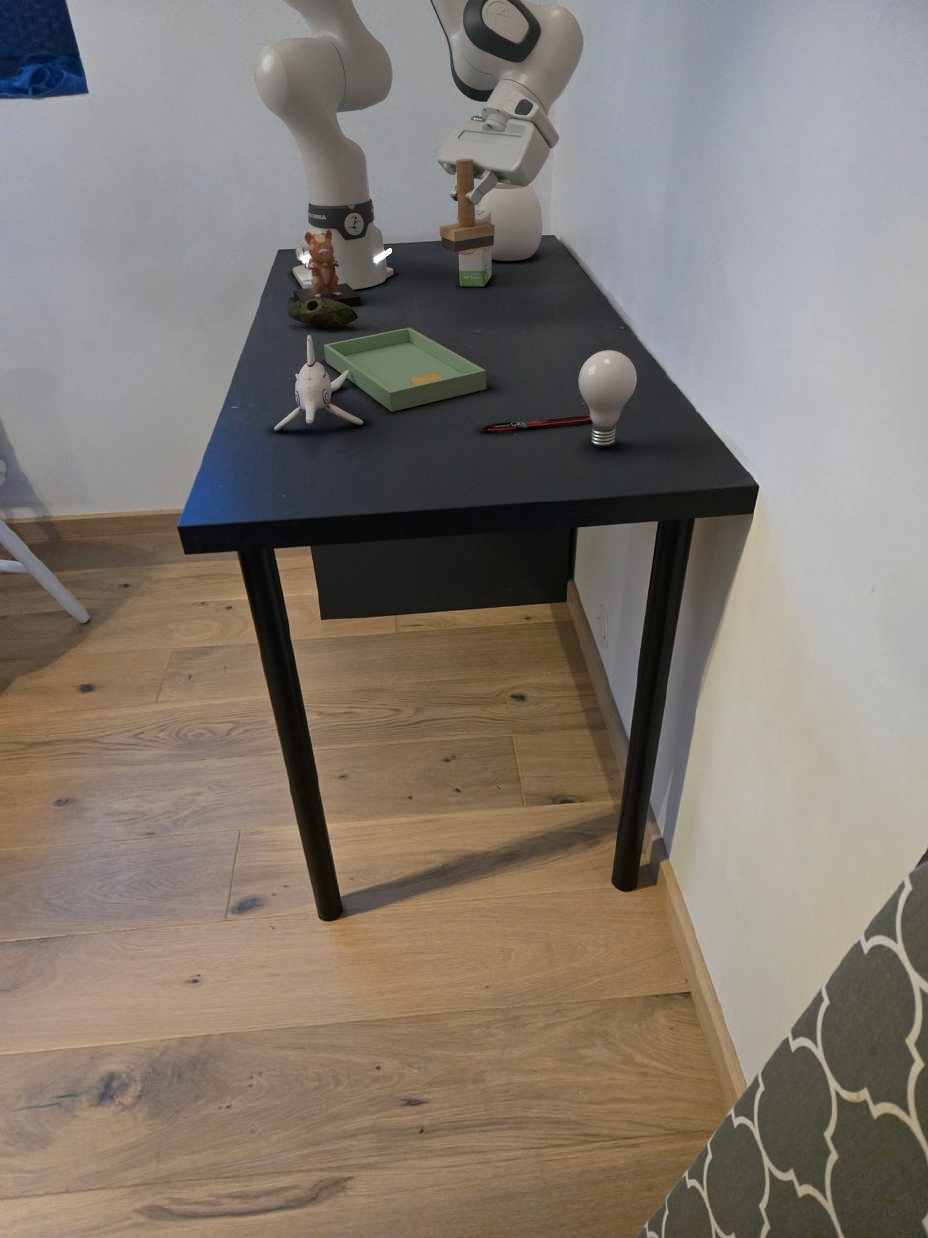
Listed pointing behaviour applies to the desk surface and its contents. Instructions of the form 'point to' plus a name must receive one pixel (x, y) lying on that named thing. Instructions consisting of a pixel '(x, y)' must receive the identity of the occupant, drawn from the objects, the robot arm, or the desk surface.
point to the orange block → (424, 379)
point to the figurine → (325, 273)
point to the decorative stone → (321, 312)
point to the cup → (514, 221)
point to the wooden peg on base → (466, 216)
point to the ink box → (476, 260)
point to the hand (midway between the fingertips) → (462, 200)
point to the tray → (404, 368)
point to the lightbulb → (606, 392)
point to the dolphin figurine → (315, 391)
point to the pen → (533, 423)
